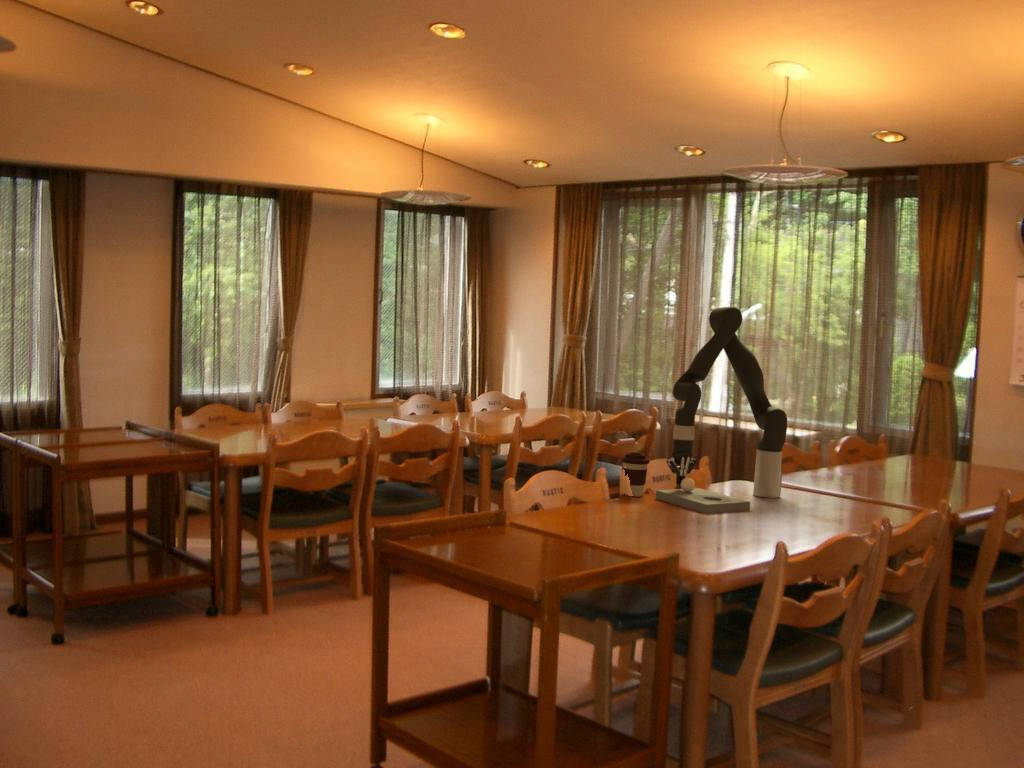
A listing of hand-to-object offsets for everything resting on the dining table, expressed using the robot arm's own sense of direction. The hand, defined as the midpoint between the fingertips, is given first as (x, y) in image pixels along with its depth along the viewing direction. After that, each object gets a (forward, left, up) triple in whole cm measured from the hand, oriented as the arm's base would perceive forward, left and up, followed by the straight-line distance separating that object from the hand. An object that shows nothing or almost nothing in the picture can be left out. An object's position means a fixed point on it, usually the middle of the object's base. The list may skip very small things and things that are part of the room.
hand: (680, 485), depth 373 cm
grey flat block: (0, +12, -4) cm, 13 cm away
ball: (0, +4, +1) cm, 4 cm away
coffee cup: (+14, -9, -5) cm, 17 cm away
